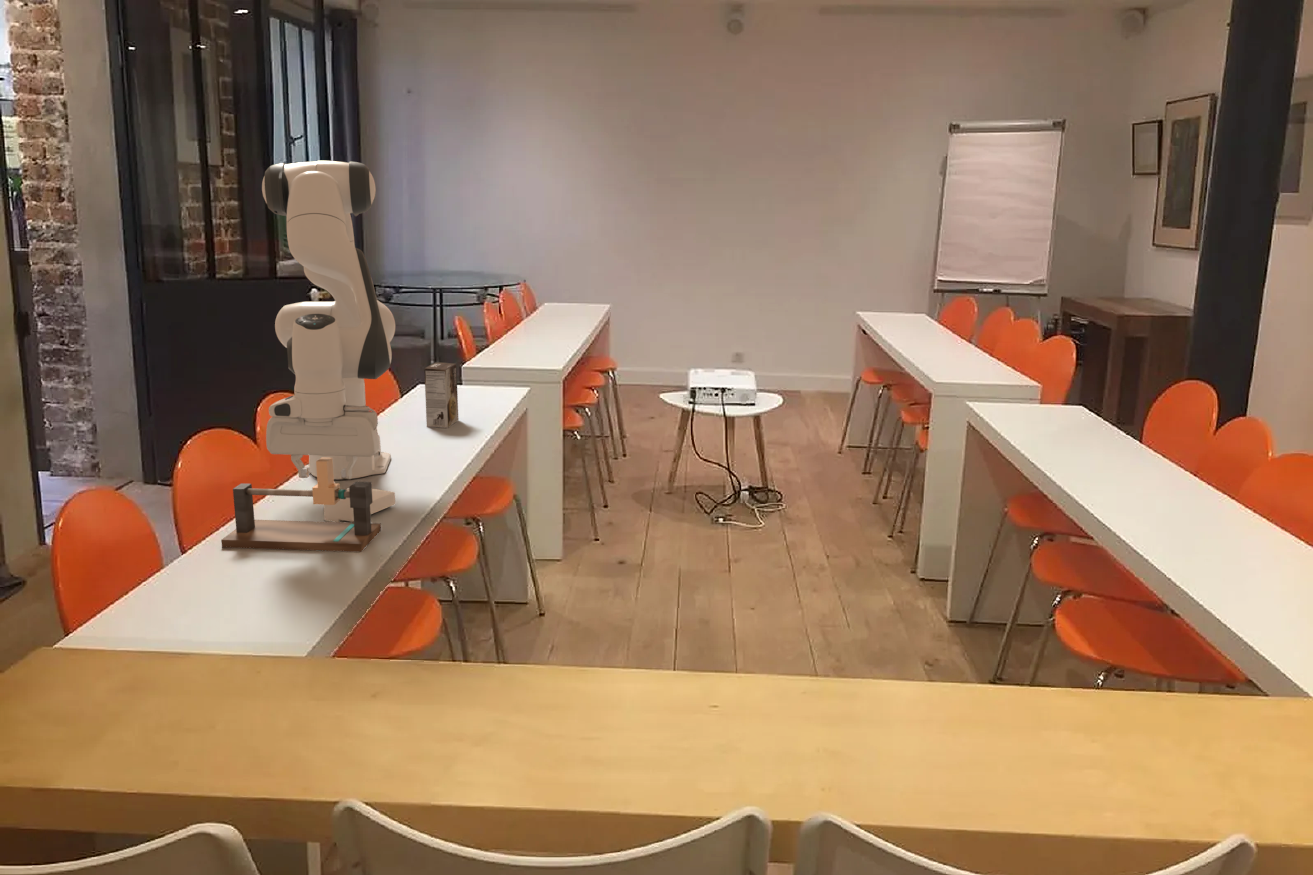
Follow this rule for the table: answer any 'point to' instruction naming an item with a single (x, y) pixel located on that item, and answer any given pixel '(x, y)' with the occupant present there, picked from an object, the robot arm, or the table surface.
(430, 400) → the coffee box
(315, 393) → the robot arm
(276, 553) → the table surface
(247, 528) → the linear slide rail
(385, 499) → the bracket
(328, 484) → the orange l-shaped block
